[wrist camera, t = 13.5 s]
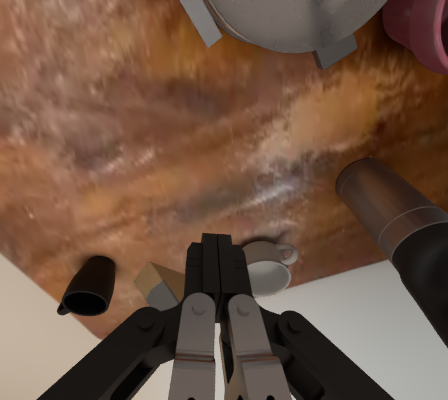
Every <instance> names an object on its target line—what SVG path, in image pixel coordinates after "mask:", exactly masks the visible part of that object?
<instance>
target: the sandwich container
mask: <svg viewBox="0 0 448 400" xmlns="http://www.w3.org/2000/svg"><path fill="white" fill-rule="evenodd" d="M134 283H135V284H136V286H137V287H138V289H139V290H140V292H141V294H142V295H143V297H144V298H145V300H146V301H147V303H148V304H149V306H150V307H154V308H157V309H158V310H160V311H164V310H167V309H170V308H173V307H175V306H176V305H178V304H179V303H180V302H181V300H182V299H183V297H184V284H185V275H184V274H182V273H179V272H176V271H173V270H171V269H168V268H165V267H162V266H160V265H157V264H154V263H151V262H149V263H148V264H147V265H146V266H145V267H144V268H143V269H142V271H141V272H140V273H139V274H138V276H137V277H136V279H135V280H134Z"/></svg>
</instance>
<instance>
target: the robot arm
mask: <svg viewBox="0 0 448 400" xmlns="http://www.w3.org/2000/svg"><path fill="white" fill-rule="evenodd" d="M336 192H337V194H338V195H339V197H340V198H341V199H342V201H343V202H344V203H345V204H346V206H347V207H348V208H349V210H350V211H351V212H352V213H353V215H354V216H355V217H356V219H357V220H358V221H359V222H360V224H361V225H362V226H363V228H364V229H365V230H366V231H367V233H368V234H369V235H370V236H371V238H372V239H373V240H374V242H375V243H376V244H377V245H378V247H379V248H380V249H381V250H382V252H383V253H384V254H385V256H386V257H387V258H388V259H389V261H390V262H391V263H392V264H393V266H394V267H395V268H396V270H397V271H398V272H399V274H400V278H401V280H402V282H403V284H404V286H405V287H406V289H407V290H408V292H409V293H410V294H411V296H412V297H413V298H414V300H415V301H416V303H417V304H418V306H419V307H420V309H421V310H422V311H423V313H424V314H425V316H426V317H427V319H428V320H429V321H430V323H431V325H432V326H433V328H434V329H435V331H436V332H437V334H438V335H439V336H440V338H441V339H442V341H443V342H444V343H445V345H446V346H447V348H448V214H447V213H445V212H444V211H443V210H441V209H440V208H439V207H438V206H436V205H435V204H434V203H433V202H431V201H430V200H429V199H428V198H427V197H426V196H424V195H423V194H422V193H421V192H419V191H418V190H417V189H415V188H414V187H413V186H412V185H410V184H409V183H408V182H407V181H405V180H404V179H403V178H402V177H400V176H399V175H398V174H396V173H395V172H394V171H393V170H391V169H390V168H388V167H387V166H386V165H384V164H383V163H382V162H381V161H379V160H376V159H363V160H359V161H357V162H355V163H353V164H351V165H350V166H348V167H347V168H346V169H345V170H344V171H343V172H342V173H341V174H340V176H339V178H338V180H337V183H336ZM215 323H220V328H221V333H220V336H219V344H220V352H221V358H222V359H221V360H222V368H223V375H224V384H225V396H224V400H292V398H291V394H292V395H293V396H294V397H295V398H296V400H394V399H393V398H392V397H391V396H390V395H389V394H388V393H387V392H386V391H385V390H384V389H382V388H381V387H380V386H379V385H378V384H377V383H376V382H375V381H374V380H373V379H371V378H370V377H369V376H368V375H367V374H366V373H365V372H364V371H363V370H362V369H360V368H359V367H358V366H357V365H356V364H355V363H354V362H353V361H352V360H350V359H349V358H348V357H347V356H346V355H345V354H344V353H343V352H342V351H341V350H340V349H338V348H337V347H336V346H335V345H334V344H333V343H332V342H331V341H330V340H329V339H328V338H326V337H325V336H324V335H323V334H322V333H321V332H320V331H319V330H318V329H316V328H315V327H314V326H313V325H312V324H311V323H310V322H309V321H308V320H307V319H305V318H304V317H303V316H302V315H301V314H299V313H297V312H295V311H285V312H283V313H282V314H281V315H279V314H276V313H273V312H270V311H268V310H265V309H264V308H262V307H261V306H259V305H258V304H257V302H256V301H255V299H254V297H253V294H252V289H251V283H250V278H249V272H248V267H247V263H246V256H245V252H244V251H243V249H242V248H241V246H240V245H232V239H231V235H226V234H217V235H216V234H210V233H202V239H201V243H194V242H192V243H191V245H190V246H189V248H188V250H187V259H186V269H185V284H184V297H183V299H182V300H181V302H180V303H179V304H178V305H176V306H175V307H173V308H170V309H167V310H164V311H160V310H158V309H157V308H154V307H143V308H140V309H138V310H136V311H135V312H134V313H133V314H132V315H131V316H129V317H128V318H127V319H126V320H125V321H124V322H123V323H122V324H120V325H119V326H118V327H117V328H116V329H115V330H114V331H113V332H112V333H110V334H109V335H108V336H107V337H106V338H105V339H104V340H103V341H101V342H100V343H99V344H98V345H97V346H96V347H95V348H94V349H93V350H91V351H90V352H89V353H88V354H87V355H86V356H85V357H84V358H82V359H81V360H80V361H79V362H78V363H77V364H76V365H75V366H73V367H72V368H71V369H70V370H69V371H68V372H67V373H66V374H65V375H63V376H62V377H61V378H60V379H59V380H58V381H57V382H56V383H55V384H54V385H52V386H51V387H50V388H49V389H48V390H47V391H46V392H44V393H43V394H42V395H41V396H40V397H39V398H38V399H37V400H131V399H132V398H133V397H134V395H135V394H136V393H137V392H138V391H139V390H140V388H141V387H142V386H143V385H144V384H145V382H146V381H147V380H148V379H149V378H150V376H151V375H152V374H153V373H154V372H155V371H156V369H157V368H158V367H159V366H160V364H162V363H165V362H168V361H170V360H173V359H174V364H173V370H172V377H171V383H170V390H169V397H168V400H215V359H214V337H215ZM290 393H291V394H290Z"/></svg>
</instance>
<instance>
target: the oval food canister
mask: <svg viewBox="0 0 448 400" xmlns="http://www.w3.org/2000/svg"><path fill="white" fill-rule="evenodd" d="M180 2H181V3H182V5H183V7H184V9H185V10H186V12H187V14H188V15H189V17H190V19H191V20H192V22H193V24H194V25H195V27H196V29H197V30H198V32H199V34H200V35H201V37H202V39H203V41H204V42H205V44H206V46H207V47H208V48H209V47H210V46H211V45H212V44H214V43H215V42H216V41H218V40H219V39H220V38H221V37H222V35H221V33H220V31H219V29H218V28H217V26H216V24H218V25H219V26H220V27H221V28H222V29H223V30H224V31H225V32H227V33H228V34H230V35H231V36H233V37H235V38H237V39H239V40H241V41H244V42H247V43H250V44H254V43H253V42H251V41H249V40H247V39H245V38H244V37H243V36H241V35H240V34H238V33H237V32H236V31H235V30H234V29H233V28H232V27H231V26H229V25H228V24H227V23H226V22H225V20H224V19H223V18H222V17H221V15H220V14H219V13H218V11H217V10H216V9H215V7H214V5H213V4H212V2H211V0H180ZM214 21H215V22H216V24H215V22H214ZM356 49H357V45H356V41H355V37H354V34H353V33H352V34H350V35H349V36H347V37H345V38H344V39H342V40H340V41H339V42H336V43H334V44H332V45H330V46H327V47H325V48H322V49H318V50H315V51H312V54H313V57H314V59H315V62H316V65H317V67H318V68H319V69H321V70H325V69H327V68H328V67H330V66H331V65H333V64H334V63H336V62H337V61H339V60H340V59H342V58H343V57H345V56H346V55H348V54H349V53H351V52H352V51H354V50H356Z"/></svg>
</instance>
